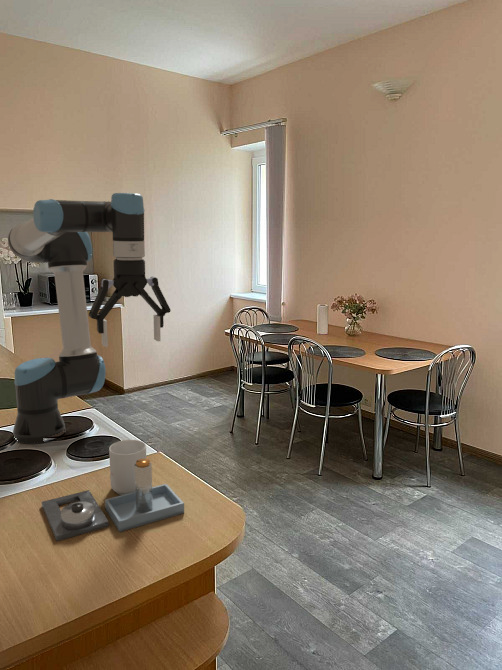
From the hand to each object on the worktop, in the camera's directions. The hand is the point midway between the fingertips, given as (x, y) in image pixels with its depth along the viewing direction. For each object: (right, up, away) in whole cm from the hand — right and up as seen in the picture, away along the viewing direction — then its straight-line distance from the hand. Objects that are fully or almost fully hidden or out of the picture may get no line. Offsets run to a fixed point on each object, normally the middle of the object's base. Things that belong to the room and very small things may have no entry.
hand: (131, 343), depth 134 cm
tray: (+6, -39, -11) cm, 41 cm away
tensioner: (-10, -39, -14) cm, 43 cm away
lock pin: (+6, -38, -12) cm, 40 cm away
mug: (-1, -36, +1) cm, 36 cm away
